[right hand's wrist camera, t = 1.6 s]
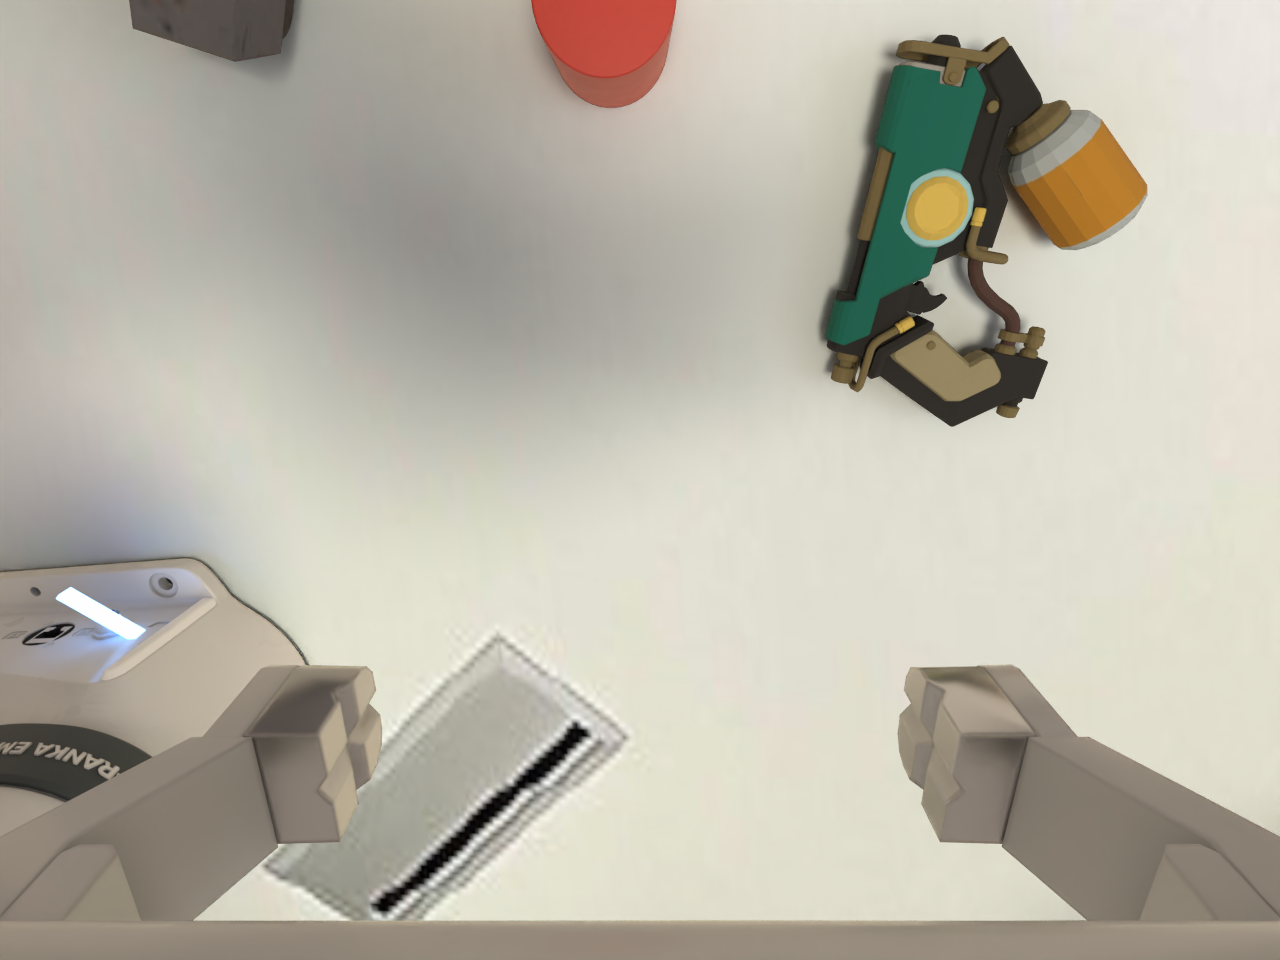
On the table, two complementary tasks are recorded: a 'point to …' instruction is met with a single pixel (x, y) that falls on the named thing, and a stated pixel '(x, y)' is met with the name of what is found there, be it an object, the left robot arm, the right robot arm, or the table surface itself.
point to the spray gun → (967, 220)
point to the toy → (217, 24)
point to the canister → (607, 45)
